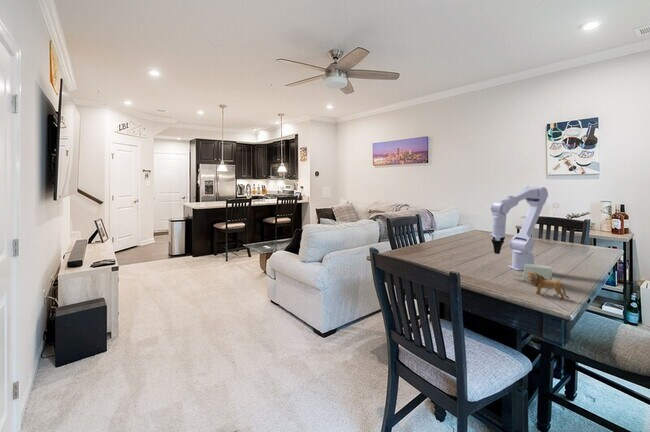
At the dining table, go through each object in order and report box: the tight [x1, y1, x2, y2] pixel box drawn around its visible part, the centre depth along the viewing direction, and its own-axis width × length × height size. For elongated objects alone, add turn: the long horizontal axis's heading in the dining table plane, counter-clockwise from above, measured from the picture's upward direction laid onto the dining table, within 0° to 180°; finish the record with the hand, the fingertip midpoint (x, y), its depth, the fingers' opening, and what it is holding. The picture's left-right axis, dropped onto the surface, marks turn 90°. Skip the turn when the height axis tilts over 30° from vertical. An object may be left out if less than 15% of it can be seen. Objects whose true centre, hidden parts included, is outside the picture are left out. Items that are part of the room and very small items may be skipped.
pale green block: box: [523, 264, 553, 283], centre depth 146 cm, size 10×8×7 cm
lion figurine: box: [527, 272, 570, 301], centre depth 128 cm, size 15×5×9 cm, turn 53°
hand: (497, 252), depth 159 cm, fingers open, 7 cm apart
